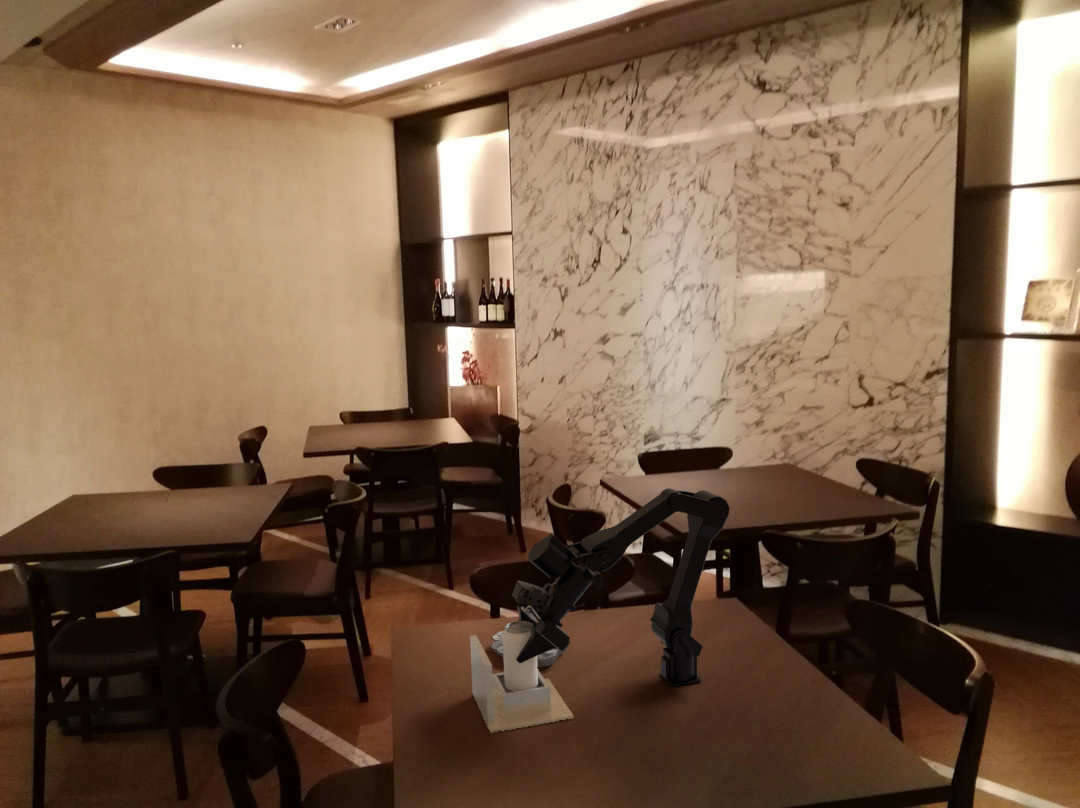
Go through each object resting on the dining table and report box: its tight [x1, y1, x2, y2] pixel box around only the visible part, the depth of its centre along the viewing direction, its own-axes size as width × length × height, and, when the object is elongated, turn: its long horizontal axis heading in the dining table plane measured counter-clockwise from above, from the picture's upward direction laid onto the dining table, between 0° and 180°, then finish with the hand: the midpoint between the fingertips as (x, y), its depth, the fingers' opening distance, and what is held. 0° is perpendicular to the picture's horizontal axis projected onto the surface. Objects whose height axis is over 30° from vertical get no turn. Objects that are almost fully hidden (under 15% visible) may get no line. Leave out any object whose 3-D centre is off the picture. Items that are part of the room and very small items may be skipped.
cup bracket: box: [469, 634, 575, 734], centre depth 155 cm, size 16×16×13 cm
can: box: [503, 620, 539, 692], centre depth 154 cm, size 6×6×12 cm
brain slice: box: [490, 629, 564, 669], centre depth 179 cm, size 20×17×3 cm
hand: (513, 654), depth 154 cm, fingers closed on can, 6 cm apart
